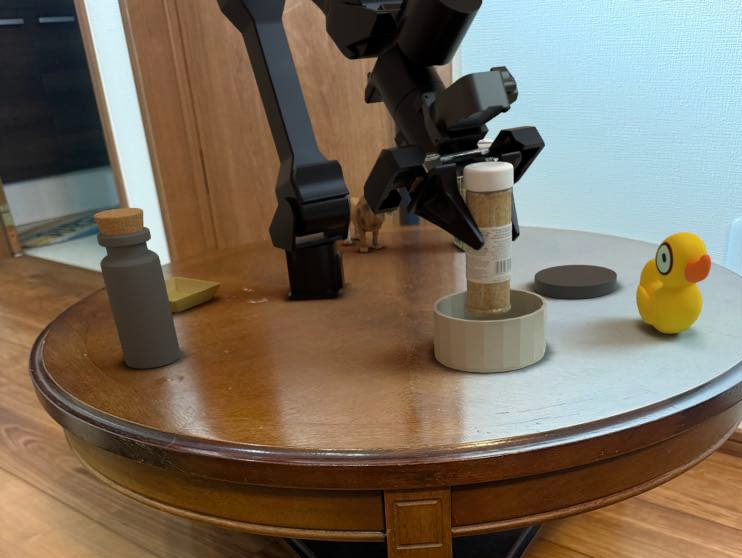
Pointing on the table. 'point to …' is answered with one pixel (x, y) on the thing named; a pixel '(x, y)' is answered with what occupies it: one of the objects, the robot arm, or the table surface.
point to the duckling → (673, 283)
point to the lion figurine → (365, 223)
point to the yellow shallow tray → (189, 292)
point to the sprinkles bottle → (489, 237)
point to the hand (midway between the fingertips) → (498, 242)
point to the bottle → (136, 290)
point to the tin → (490, 334)
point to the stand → (575, 281)
